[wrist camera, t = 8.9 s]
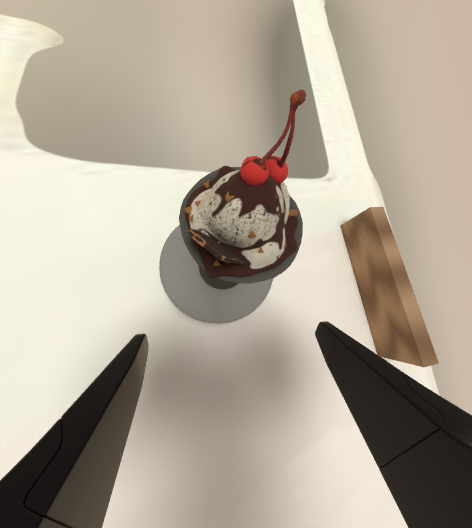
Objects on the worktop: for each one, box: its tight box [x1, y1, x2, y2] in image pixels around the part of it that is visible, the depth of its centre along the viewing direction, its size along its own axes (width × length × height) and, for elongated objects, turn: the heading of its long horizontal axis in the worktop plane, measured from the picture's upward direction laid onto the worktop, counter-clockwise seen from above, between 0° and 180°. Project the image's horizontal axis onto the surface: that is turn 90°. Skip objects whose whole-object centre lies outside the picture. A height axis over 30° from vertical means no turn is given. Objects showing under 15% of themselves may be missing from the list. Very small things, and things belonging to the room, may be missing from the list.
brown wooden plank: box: [341, 207, 438, 367], centre depth 23 cm, size 18×2×5 cm, turn 8°
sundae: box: [179, 90, 306, 290], centre depth 12 cm, size 7×7×15 cm
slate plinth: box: [159, 225, 273, 323], centre depth 21 cm, size 12×12×3 cm
